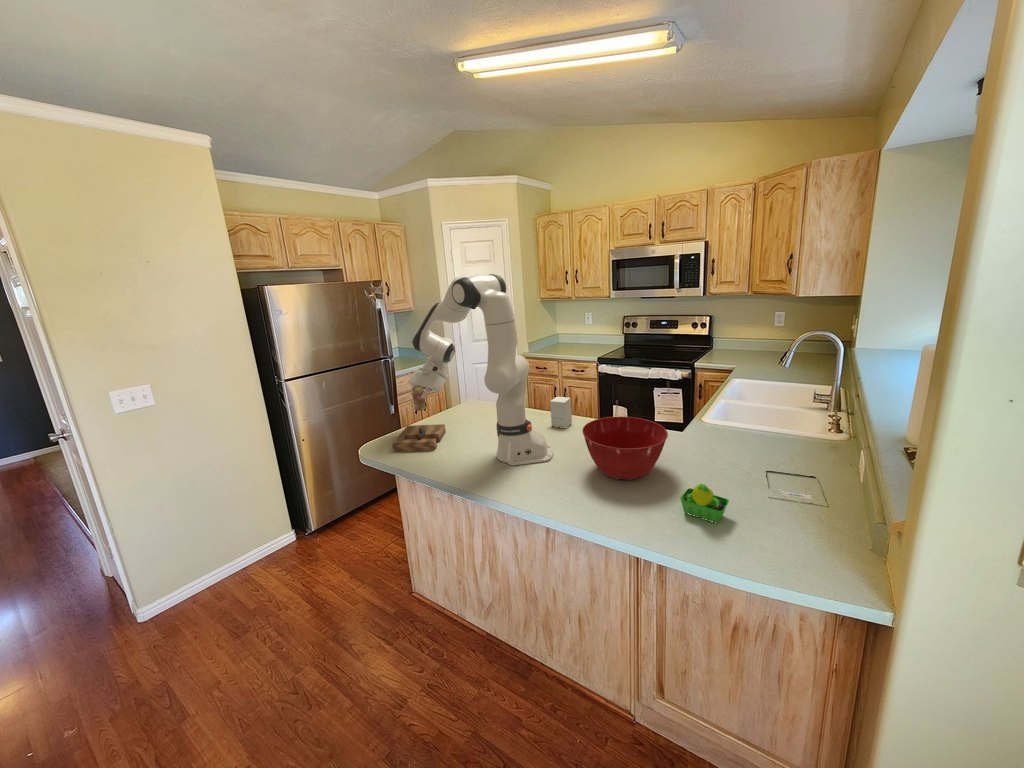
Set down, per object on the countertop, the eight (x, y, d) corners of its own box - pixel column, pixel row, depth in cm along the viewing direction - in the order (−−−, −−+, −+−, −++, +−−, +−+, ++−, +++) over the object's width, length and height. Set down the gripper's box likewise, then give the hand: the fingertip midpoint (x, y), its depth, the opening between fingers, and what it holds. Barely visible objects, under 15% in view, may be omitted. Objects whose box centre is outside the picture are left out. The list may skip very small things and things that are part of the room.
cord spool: (427, 406, 191) (424, 385, 188) (424, 410, 186) (421, 388, 183) (416, 407, 191) (413, 386, 189) (412, 411, 187) (409, 389, 184)
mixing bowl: (663, 455, 158) (664, 416, 153) (670, 495, 131) (671, 449, 127) (587, 451, 165) (586, 414, 161) (579, 488, 139) (577, 445, 135)
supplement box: (572, 423, 195) (571, 397, 192) (565, 429, 189) (564, 402, 186) (558, 421, 199) (556, 396, 196) (551, 426, 193) (549, 400, 190)
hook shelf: (445, 432, 196) (443, 416, 194) (435, 450, 177) (432, 432, 175) (408, 433, 198) (405, 417, 196) (393, 452, 179) (390, 434, 177)
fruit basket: (728, 515, 119) (731, 479, 116) (719, 530, 113) (721, 493, 110) (687, 502, 127) (689, 468, 124) (676, 516, 121) (677, 481, 118)
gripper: (414, 364, 196) (399, 389, 191) (441, 369, 182) (426, 396, 178) (423, 371, 200) (408, 396, 196) (450, 376, 186) (435, 403, 182)
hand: (417, 396), depth 187 cm, fingers closed on cord spool, 5 cm apart
